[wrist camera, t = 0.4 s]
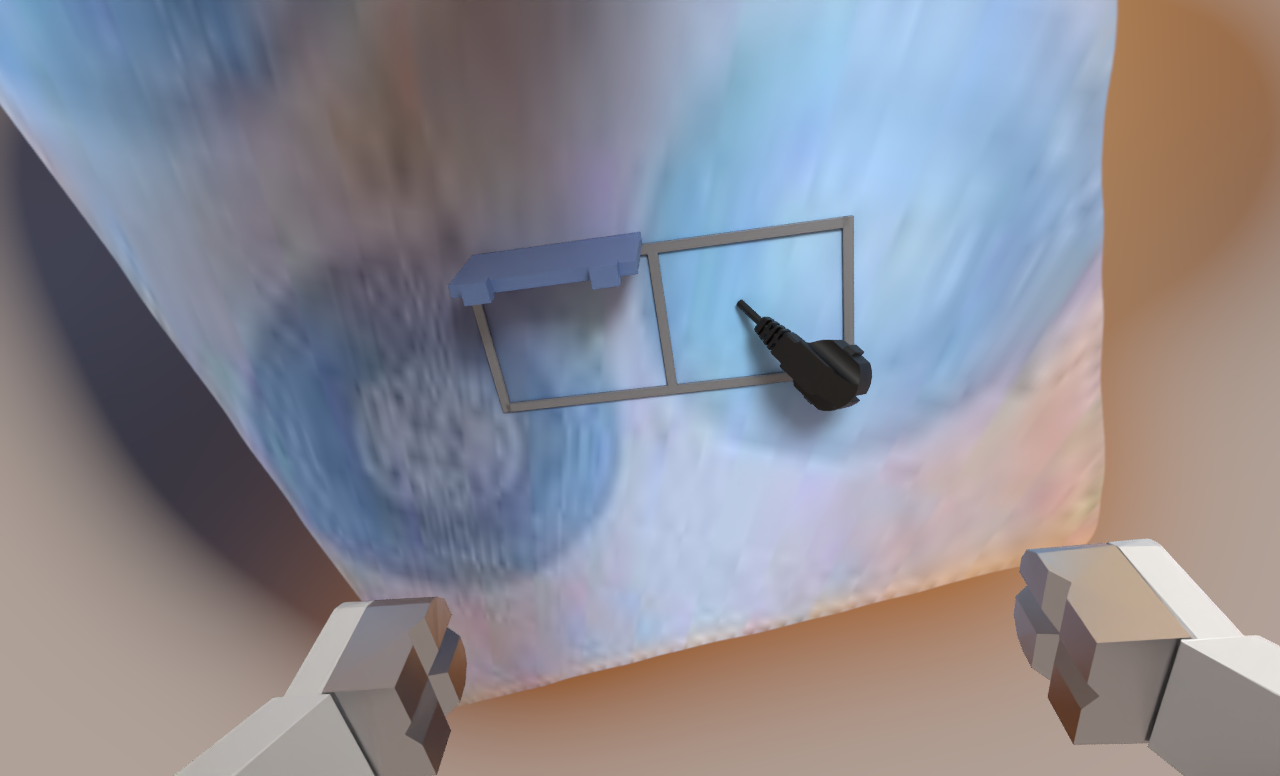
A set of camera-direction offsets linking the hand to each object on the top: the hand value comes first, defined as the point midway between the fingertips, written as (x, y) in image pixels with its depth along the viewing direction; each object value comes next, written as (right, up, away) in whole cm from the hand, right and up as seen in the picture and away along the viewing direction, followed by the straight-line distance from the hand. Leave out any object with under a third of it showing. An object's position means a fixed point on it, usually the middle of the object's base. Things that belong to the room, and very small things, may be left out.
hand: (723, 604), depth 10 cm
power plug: (+9, +11, +50) cm, 52 cm away
